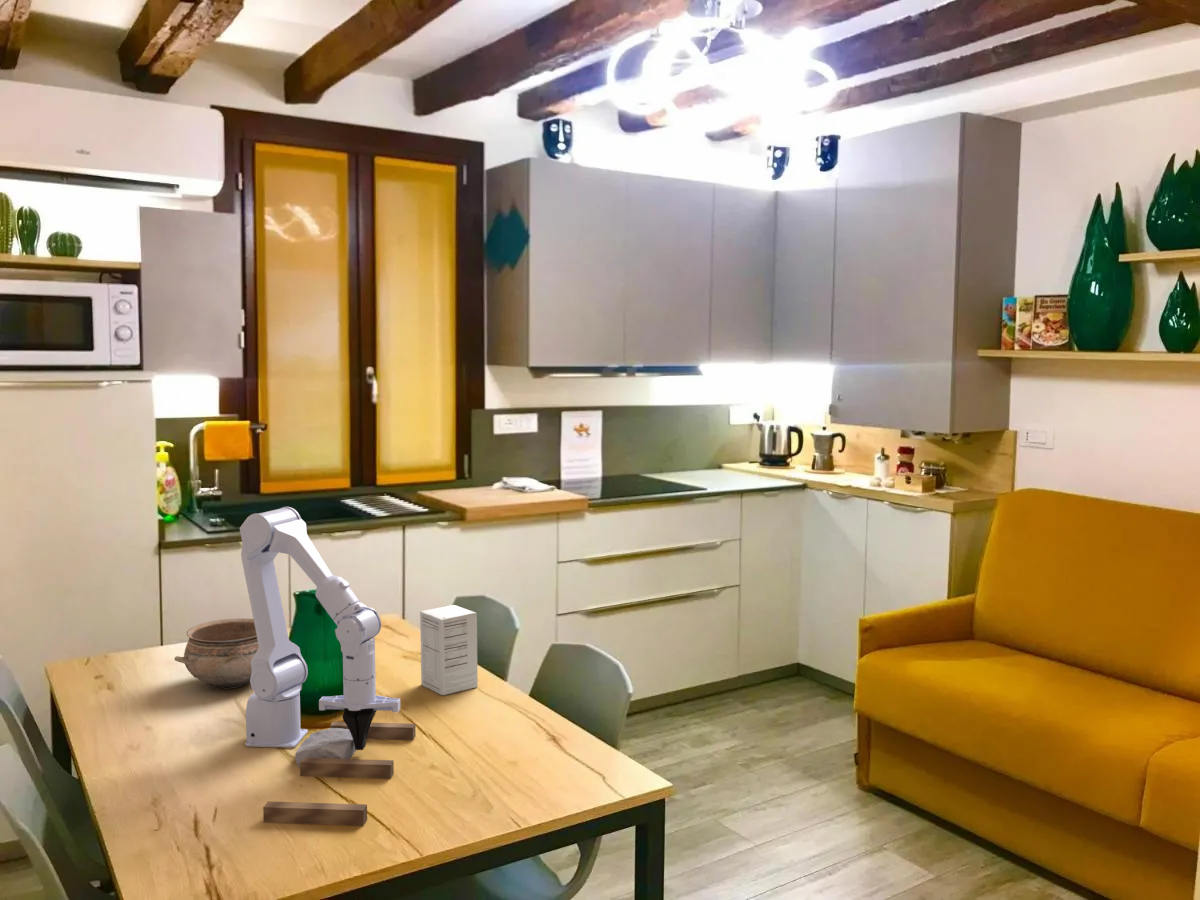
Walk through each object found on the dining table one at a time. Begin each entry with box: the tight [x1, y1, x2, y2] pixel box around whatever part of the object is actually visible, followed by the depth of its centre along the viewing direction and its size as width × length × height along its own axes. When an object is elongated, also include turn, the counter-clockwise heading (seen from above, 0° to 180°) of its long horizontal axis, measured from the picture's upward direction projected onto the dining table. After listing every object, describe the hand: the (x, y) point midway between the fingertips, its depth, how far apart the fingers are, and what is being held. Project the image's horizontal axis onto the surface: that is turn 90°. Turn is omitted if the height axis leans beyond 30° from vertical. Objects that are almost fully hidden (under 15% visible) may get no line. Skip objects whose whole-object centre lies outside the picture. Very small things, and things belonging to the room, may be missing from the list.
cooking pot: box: [174, 618, 259, 690], centre depth 223 cm, size 25×19×12 cm
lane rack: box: [262, 721, 416, 826], centre depth 178 cm, size 16×36×2 cm, turn 177°
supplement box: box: [419, 604, 479, 696], centre depth 223 cm, size 10×9×17 cm
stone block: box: [294, 727, 357, 769], centre depth 186 cm, size 12×5×10 cm
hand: (360, 747), depth 186 cm, fingers closed
